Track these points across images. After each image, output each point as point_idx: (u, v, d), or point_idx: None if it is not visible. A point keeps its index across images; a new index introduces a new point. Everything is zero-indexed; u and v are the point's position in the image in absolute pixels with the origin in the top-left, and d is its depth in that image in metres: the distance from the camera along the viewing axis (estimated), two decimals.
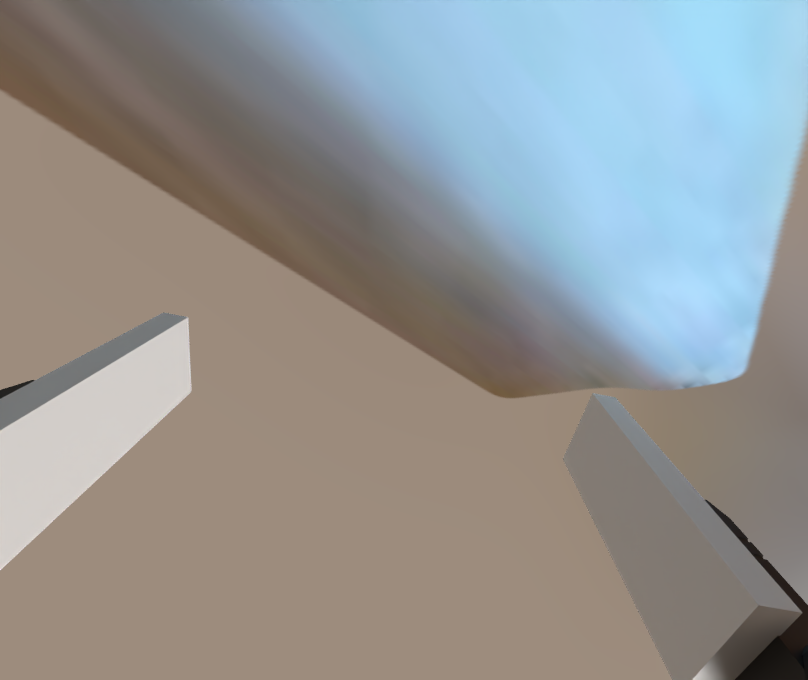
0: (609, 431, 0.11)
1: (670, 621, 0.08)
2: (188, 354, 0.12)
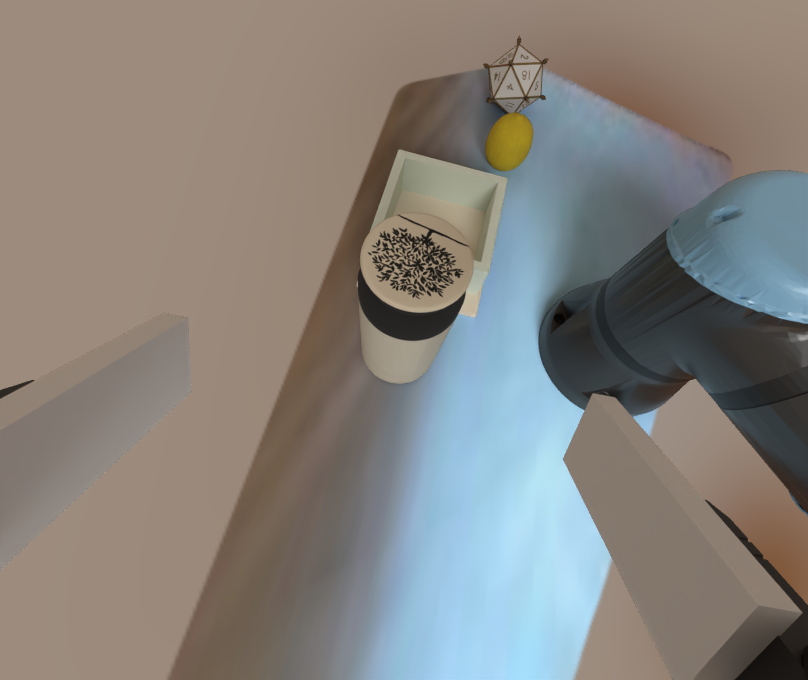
0: (609, 431, 0.11)
1: (670, 621, 0.08)
2: (188, 354, 0.12)
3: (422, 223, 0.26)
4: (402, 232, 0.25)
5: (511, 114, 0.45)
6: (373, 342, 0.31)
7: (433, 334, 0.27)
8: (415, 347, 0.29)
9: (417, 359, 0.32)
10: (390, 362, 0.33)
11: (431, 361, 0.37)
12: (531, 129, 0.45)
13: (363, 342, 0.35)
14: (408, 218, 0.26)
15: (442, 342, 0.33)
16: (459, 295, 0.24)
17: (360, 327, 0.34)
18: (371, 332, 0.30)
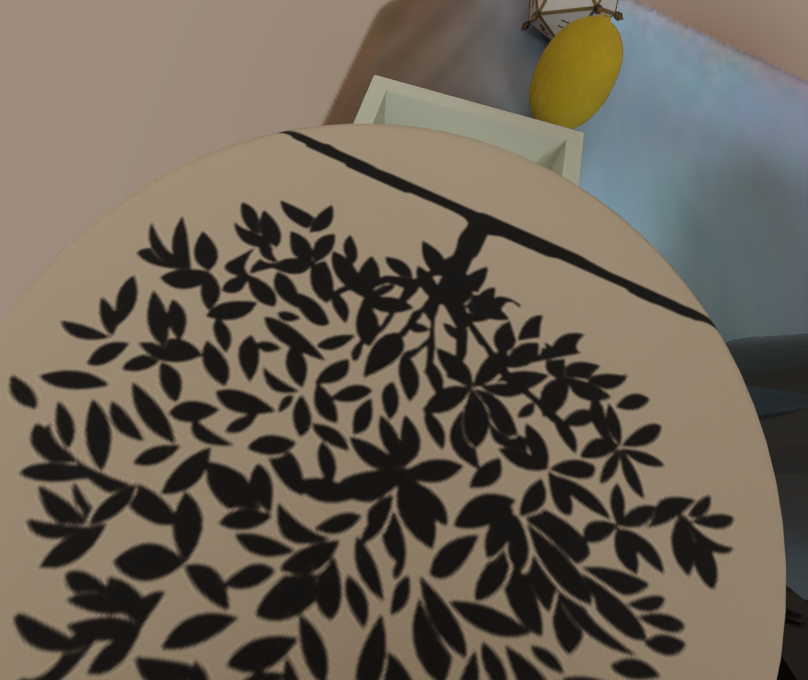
0: None
1: None
2: None
3: (426, 180, 0.04)
4: (302, 231, 0.04)
5: (586, 17, 0.24)
6: None
7: None
8: None
9: None
10: None
11: None
12: (622, 47, 0.25)
13: None
14: (347, 151, 0.04)
15: None
16: None
17: None
18: None
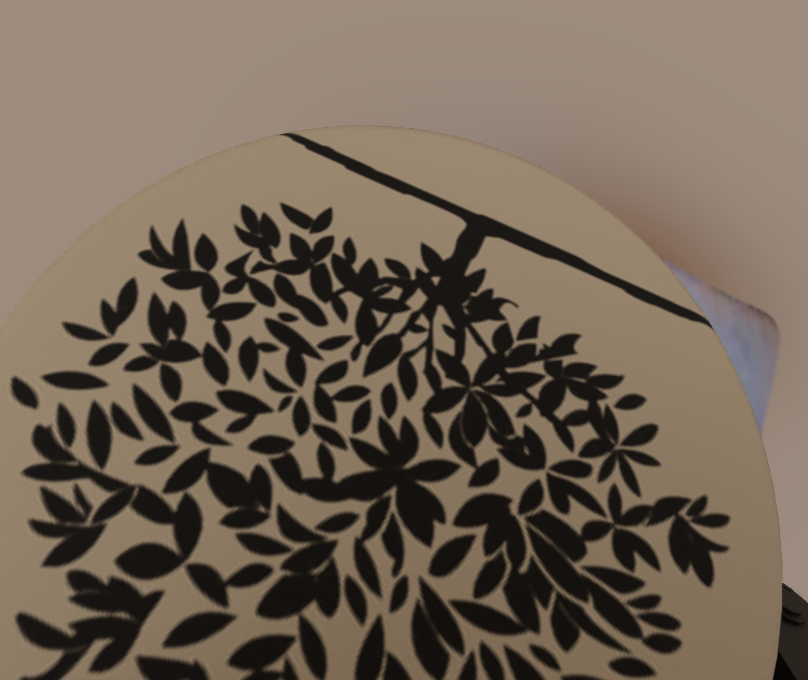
0: None
1: None
2: None
3: (424, 182, 0.04)
4: (301, 233, 0.04)
5: None
6: None
7: None
8: None
9: None
10: None
11: None
12: None
13: None
14: (346, 153, 0.04)
15: None
16: None
17: None
18: None
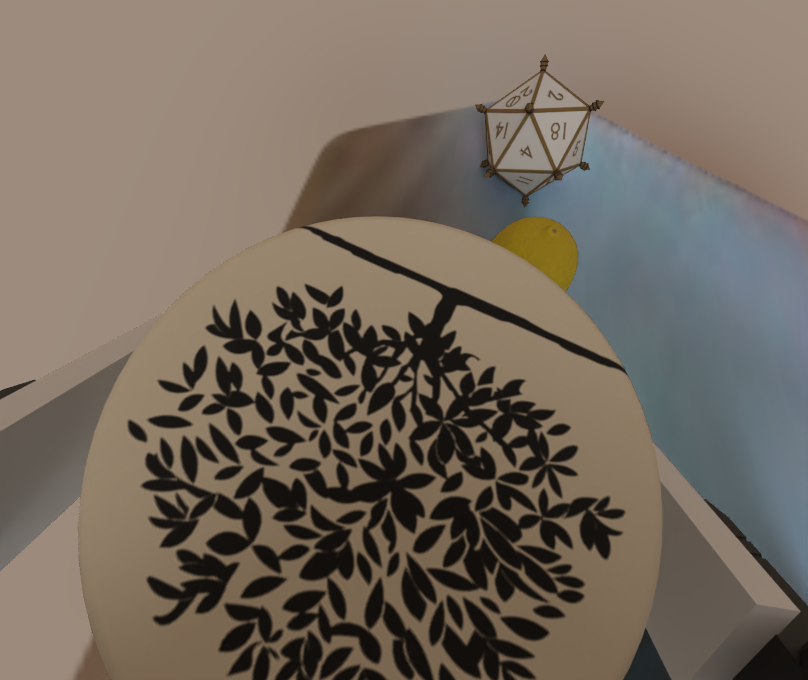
0: None
1: (669, 620, 0.08)
2: None
3: (411, 263, 0.06)
4: (321, 307, 0.06)
5: (534, 224, 0.21)
6: None
7: None
8: None
9: None
10: None
11: None
12: (576, 255, 0.21)
13: None
14: (352, 242, 0.06)
15: None
16: (622, 678, 0.04)
17: None
18: None
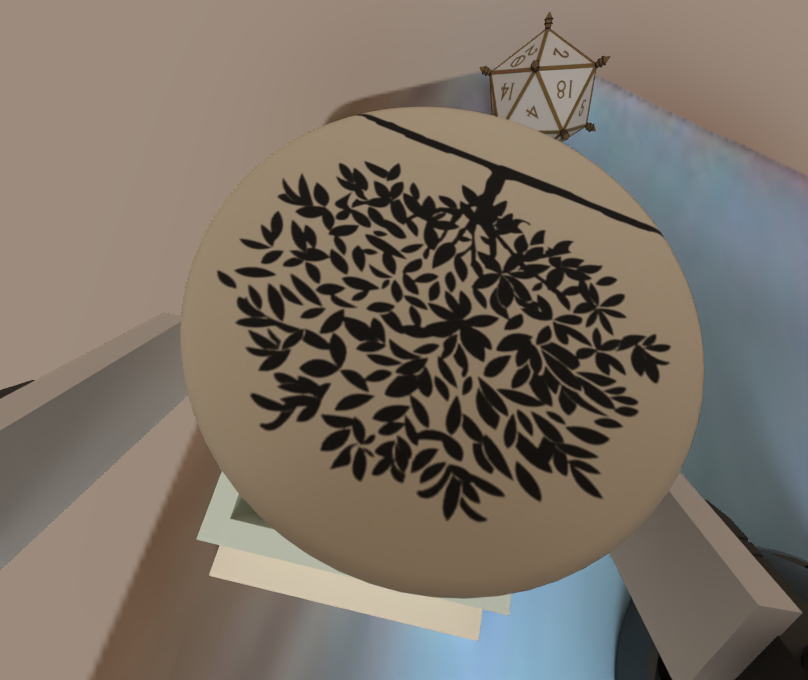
0: None
1: (670, 621, 0.08)
2: None
3: (461, 144, 0.06)
4: (381, 180, 0.06)
5: None
6: None
7: None
8: None
9: None
10: None
11: None
12: None
13: None
14: (404, 126, 0.06)
15: None
16: (675, 477, 0.05)
17: None
18: None
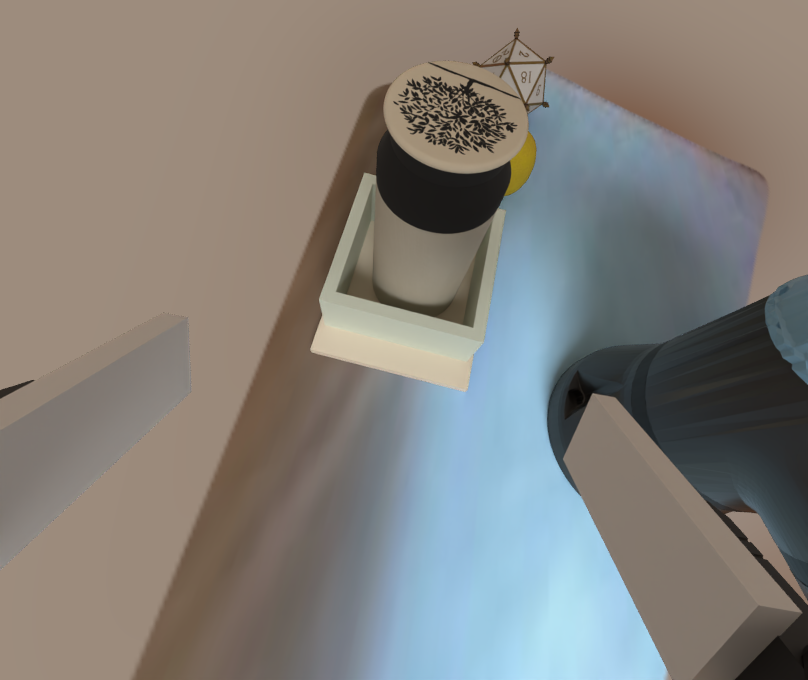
0: (609, 432, 0.11)
1: (670, 621, 0.08)
2: (188, 354, 0.12)
3: (459, 72, 0.20)
4: (435, 81, 0.20)
5: None
6: (393, 250, 0.26)
7: (473, 223, 0.22)
8: (447, 247, 0.24)
9: (446, 274, 0.27)
10: (412, 280, 0.28)
11: (457, 287, 0.31)
12: (534, 146, 0.36)
13: (378, 262, 0.29)
14: (441, 66, 0.20)
15: (474, 254, 0.27)
16: (514, 152, 0.19)
17: (374, 243, 0.29)
18: (392, 232, 0.24)
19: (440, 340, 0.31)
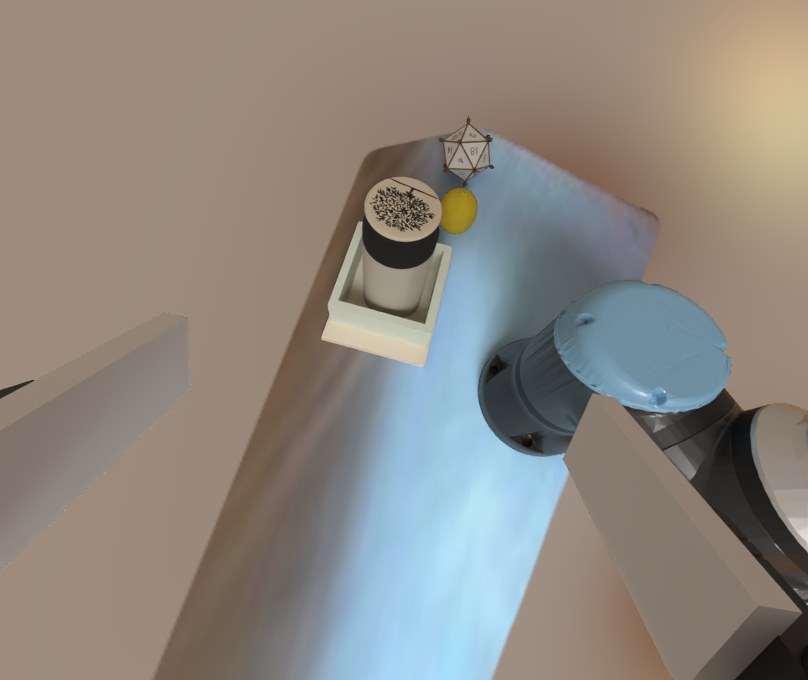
0: (609, 431, 0.11)
1: (670, 621, 0.08)
2: (188, 354, 0.12)
3: (406, 183, 0.37)
4: (393, 189, 0.37)
5: (457, 190, 0.52)
6: (373, 276, 0.43)
7: (416, 263, 0.39)
8: (403, 276, 0.41)
9: (406, 290, 0.44)
10: (385, 294, 0.45)
11: (417, 298, 0.48)
12: (475, 203, 0.53)
13: (365, 282, 0.46)
14: (397, 180, 0.37)
15: (424, 278, 0.44)
16: (432, 230, 0.36)
17: (363, 270, 0.46)
18: (372, 266, 0.41)
19: (405, 332, 0.48)
